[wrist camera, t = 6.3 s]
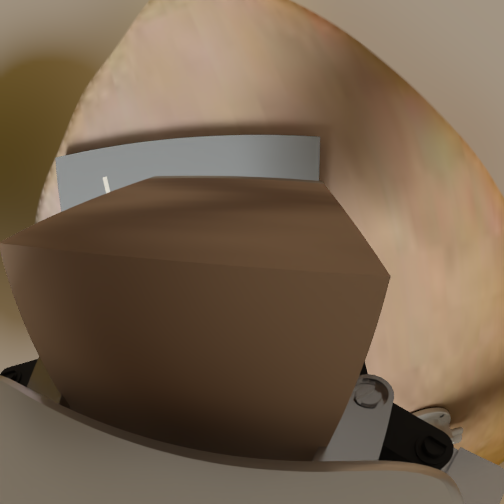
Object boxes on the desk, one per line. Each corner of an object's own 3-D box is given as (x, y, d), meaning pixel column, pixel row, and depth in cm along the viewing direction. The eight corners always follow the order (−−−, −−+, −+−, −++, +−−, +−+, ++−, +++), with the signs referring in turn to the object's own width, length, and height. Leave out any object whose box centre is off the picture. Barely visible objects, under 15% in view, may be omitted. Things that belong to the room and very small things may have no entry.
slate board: (318, 137, 20) (320, 136, 18) (308, 301, 25) (308, 310, 23) (65, 156, 23) (55, 157, 21) (85, 281, 28) (77, 287, 26)
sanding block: (321, 181, 9) (389, 276, 3) (294, 387, 13) (286, 515, 7) (154, 176, 10) (-2, 242, 3) (179, 373, 14) (131, 484, 7)
